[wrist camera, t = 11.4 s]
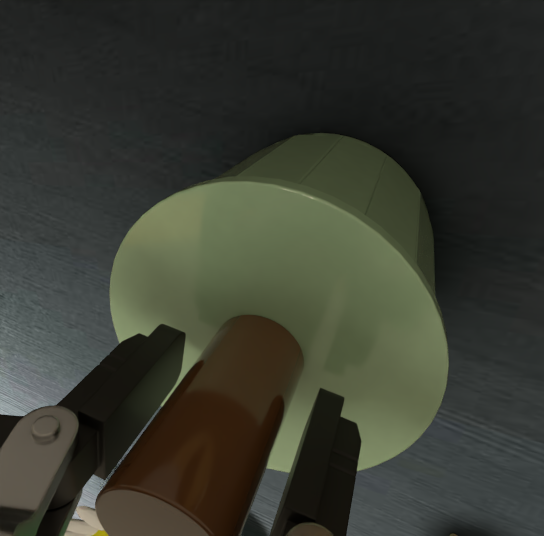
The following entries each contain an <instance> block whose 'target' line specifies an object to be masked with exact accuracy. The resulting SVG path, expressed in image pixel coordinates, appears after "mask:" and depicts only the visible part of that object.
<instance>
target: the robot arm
mask: <svg viewBox="0 0 544 536" xmlns="http://www.w3.org/2000/svg"><path fill="white" fill-rule="evenodd" d="M185 339H186V334H185V332H182V331H180V330H178V329H175V328H173V327H170V326H168V325H165V324H160V325H159V326H158V327H157V328H156V329H155V330H154V331H153V332H152V333H151V334H150V335H149V336H148V337H147V336H145V335H142V334H140V333H138V334H136V335H134V336H132V337H130V338H128V339H126V340H124V341H122V342H121V343H120V344H119V345H118V346H117V347H116V348H115V349H114V350H113V351H112V352H111V353H110V355H108V356H107V357H106V358H105V359H104V360H102V361H101V362H100V365H97V366H96V367H95V368H94V369H93V370H92V371H91V372H90V373H89V374H88V375H87V376H86V377H85V378H84V379H83V380H82V381H81V382H80V383H79V384H78V385H77V386H76V387H75V388H74V389H73V390H72V391H71V392H70V393H69V394H68V395H67V396H66V397H64V398H63V399H62V400H61V401H60V402H59V403H58V404H57V405H55V406H46V407H41V408H38V409H36V410H33V411H31V412H30V413H28V414H27V415H25V416H11V415H1V414H0V536H64V535H65V533H66V530H67V528H68V526H69V523H70V521H71V519H72V516H73V514H74V512H75V509H76V507H77V505H78V502H79V500H80V498H81V495H82V488H83V487H84V485H85V484H86V483H87V481H88V480H89V479H90V478H91V476H92V475H93V474H94V475H96V476H98V477H100V478H102V479H104V480H105V479H106V478H107V477H108V475H109V474H110V473H111V471H112V470H113V468H114V467H115V466H116V464H117V463H118V462H119V460H120V459H121V458H122V456H123V455H124V454H125V452H126V451H127V450H128V448H129V447H130V446H131V444H132V443H133V441H134V440H135V439H136V437H137V436H138V435H139V433H140V432H141V431H142V429H143V428H144V427H145V425H146V424H147V423H148V421H149V420H150V418H151V417H152V416H153V414H154V413H155V412H156V410H157V409H158V408H159V406H160V405H161V404H162V402H163V401H164V400H165V398H166V397H167V396H168V394H169V393H170V391H171V390H172V389H173V387H174V386H175V384H176V382H177V380H178V378H179V376H180V373H181V369H182V363H183V355H184V347H185ZM343 404H344V397H343V396H340V395H338V394H335V393H333V392H330V391H328V390H325V389H323V388H320V389H319V392H318V394H317V397H316V399H315V402H314V404H313V407H312V410H311V412H310V415H309V417H308V420H307V423H306V425H305V428H304V431H303V434H302V437H301V440H300V443H299V446H298V449H297V452H296V455H295V458H294V461H293V464H292V467H291V470H290V474H289V477H288V480H287V483H286V486H285V489H284V492H283V495H282V498H281V501H280V505H279V508H278V511H277V514H276V517H275V520H274V523H273V526H272V529H271V532H270V536H346V532H347V526H348V520H349V514H350V508H351V502H352V496H353V490H354V484H355V479H356V478H355V476H356V473H357V467H358V460H359V455H360V449H361V443H362V441H361V437H360V433H359V429H358V426H357V423H355V422H353V421H350V420H348V419H345V418H343V417H341V412H342V408H343Z"/></svg>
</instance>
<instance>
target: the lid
mask: <svg viewBox="0 0 544 536" xmlns="http://www.w3.org/2000/svg"><path fill="white" fill-rule="evenodd" d="M109 294H110V308H111V314H112V319H113V324H114V328H115V331H116V334H117V337H118V340H119V343H121V342H122V341H124V340H126V339H128V338H130V337H132V336H134V335H136V334H138V333H140V334H142V335H145V336H147V337H148V336H149V335H150V334H151V333H152V332H153V331H154V330H155V329H156V328H157V327H158V326H159V325H160V324H165V325H168V326H170V327H173V328H175V329H178V330H180V331H182V332H185V334H186V339H185V347H184V355H183V363H182V369H181V373H180V376H179V378H178V380H177V382H176V384H175V386H174V387H173V389H172V390H171V391H170V393H169V394H168V396H167V397H166V398H165V400H164V401H163V402H162V404H161V406H162V408H161V409H160V410H159V412H158V413H157V415H156V416H155V417H154V419H153V420H152V421H151V423H150V424H149V426H148V427H147V428H146V430H145V431H144V432H143V434H142V435H141V436H140V438H139V439H138V441H137V442H136V443H135V445H134V446H133V447H132V449H131V450H130V452H129V453H128V454H127V456H126V457H125V458H124V460H123V461H122V462H121V464H120V465H119V467H118V468H117V469H116V471H115V472H114V473H113V475H112V476H111V478H110V479H109V480H108V482H107V483H106V484H105V486H104V487H103V488H102V490H101V491H100V493H99V494H98V496H97V499H96V502H95V510H96V514H97V518H98V520H99V522H100V524H101V526H102V527H103V529H104V530H105V532H106V533H107V534H108V536H241V533H242V530H243V528H244V525H245V523H246V520H247V517H248V515H249V512H250V509H251V507H252V504H253V502H254V499H255V496H256V494H257V491H258V488H259V486H260V483H261V481H262V478H263V475H264V473H265V470H266V468H269V469H273V470H278V471H282V472H287V473H290V470H291V467H292V464H293V461H294V458H295V455H296V452H297V449H298V446H299V443H300V440H301V437H302V434H303V431H304V428H305V425H306V423H307V420H308V417H309V415H310V412H311V410H312V407H313V404H314V402H315V399H316V397H317V394H318V392H319V389H320V388H323V389H325V390H328V391H330V392H333V393H335V394H338V395H340V396H343V397H344V404H343V408H342V412H341V417H343V418H345V419H348V420H350V421H353V422H355V423H357V426H358V429H359V433H360V437H361V441H362V443H361V449H360V455H359V460H358V467H357V471H360V470H363V469H367V468H370V467H373V466H376V465H379V464H381V463H383V462H385V461H387V460H389V459H391V458H393V457H395V456H396V455H398V454H399V453H401V452H402V451H404V450H406V449H407V448H408V447H409V446H411V445H412V444H413V443H414V442H415V441H416V440H417V439H418V438H419V437H420V436H421V435H422V434H423V433H424V431H425V430H426V429H427V427H428V426H429V425H430V424H431V422H432V421H433V419H434V417H435V415H436V413H437V411H438V409H439V407H440V405H441V403H442V400H443V396H444V393H445V390H446V386H447V379H448V369H449V357H448V344H447V332H446V328H445V324H444V320H443V316H442V312H441V309H440V307H439V304H438V302H437V300H436V297H435V295H434V293H433V290H432V288H431V286H430V285H429V283H428V281H427V280H426V278H425V276H424V275H423V273H422V272H421V270H420V268H419V267H418V265H417V264H416V263H415V262H414V260H413V259H412V258H411V257H410V256H409V254H408V253H407V252H406V251H405V249H404V248H403V247H402V246H401V245H400V244H399V243H398V242H397V241H396V240H395V239H394V238H393V237H392V236H391V235H390V234H388V233H387V232H386V231H385V230H384V229H383V228H382V227H381V226H380V225H378V224H377V223H376V222H374V221H373V220H371V219H370V218H369V217H367V216H366V215H364V214H363V213H362V212H360V211H359V210H357V209H356V208H354V207H352V206H350V205H348V204H346V203H344V202H343V201H341V200H339V199H337V198H335V197H333V196H331V195H329V194H326V193H324V192H321V191H318V190H316V189H313V188H311V187H308V186H305V185H301V184H297V183H293V182H289V181H285V180H281V179H274V178H265V177H257V176H240V177H225V178H219V179H213V180H207V181H204V182H201V183H198V184H195V185H192V186H189V187H186V188H184V189H182V190H180V191H178V192H176V193H174V194H172V195H170V196H168V197H167V198H165V199H163V200H161V201H160V202H158V203H157V204H156V205H154V206H153V207H152V208H150V209H149V210H148V211H147V212H145V213H144V214H143V215H142V216H141V217H140V218H139V219H138V220H137V222H136V223H135V224H134V225H133V226H132V227H131V228H130V230H129V232H128V233H127V235H126V236H125V238H124V239H123V241H122V243H121V245H120V247H119V250H118V252H117V255H116V257H115V260H114V264H113V268H112V273H111V279H110V293H109Z"/></svg>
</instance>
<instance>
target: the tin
mask: <svg viewBox="0 0 544 536" xmlns="http://www.w3.org/2000/svg"><path fill="white" fill-rule="evenodd" d="M240 176H257V177H265V178H274V179H281V180H285V181H289V182H293V183H297V184H301V185H305V186H308V187H311V188H313V189H316V190H318V191H321V192H324V193H326V194H329V195H331V196H333V197H335V198H337V199H339V200H341V201H343V202H344V203H346V204H348V205H350V206H352V207H354V208H356V209H357V210H359V211H360V212H362V213H363V214H364V215H366V216H367V217H369V218H370V219H371V220H373V221H374V222H376V223H377V224H378V225H380V226H381V227H382V228H383V229H384V230H385V231H386V232H387V233H388V234H390V235H391V236H392V237H393V238H394V239H395V240H396V241H397V242H398V243H399V244H400V245H401V246H402V247H403V248H404V249H405V251H406V252H407V253H408V254H409V256H410V257H411V258H412V259H413V260H414V262H415V263H416V264H417V265H418V267H419V268H420V270H421V272H422V273H423V275H424V276H425V278H426V280H427V281H428V283H429V285H430V286H431V288H432V290H433V293H434V295H435V269H434V235H433V230H432V227H431V224H430V219H429V215H428V211H427V208H426V205H425V203H424V200H423V198H422V195H421V193H420V191H419V189H418V188H417V187H416V185H415V183H414V182H413V180H412V179H411V178H410V177H409V175H408V174H407V173H406V172H405V170H404V169H403V168H402V167H401V166H400V165H398V164H397V163H396V162H395V161H394V160H393V159H392V158H390V157H389V156H388V155H386V154H385V153H383V152H382V151H381V150H379V149H377V148H375V147H373V146H371V145H369V144H368V143H365V142H363V141H360V140H357V139H354V138H352V137H347V136H343V135H338V134H328V133H312V134H303V135H296V136H292V137H290V138H287V139H284V140H281V141H279V142H277V143H275V144H273V145H271V146H269V147H267V148H264V149H262V150H260V151H258V152H256V153H254V154H253V155H251V156H250V157H248V158H247V159H245V160H243V161H242V162H240V163H239V164H237V165H236V166H234V167H232V168H231V169H229V170H228V171H226V172H225V173H223V174H222V175H220V176H218V177H217V178H215V179H219V178H225V177H240Z"/></svg>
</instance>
